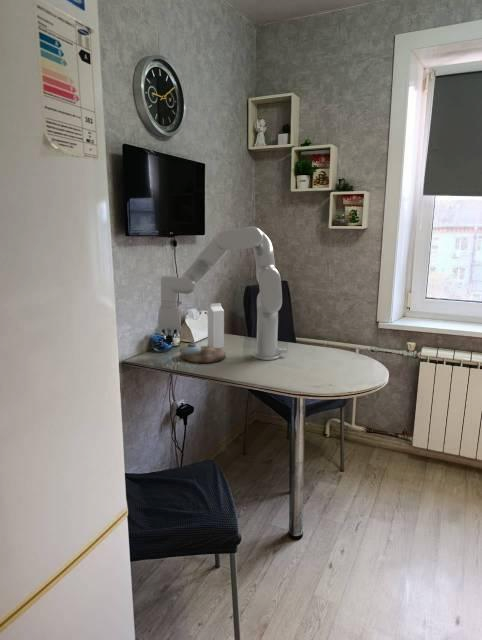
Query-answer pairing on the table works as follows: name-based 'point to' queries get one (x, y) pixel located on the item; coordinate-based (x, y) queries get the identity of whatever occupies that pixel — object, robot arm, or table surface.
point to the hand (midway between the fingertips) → (169, 343)
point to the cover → (191, 349)
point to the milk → (216, 326)
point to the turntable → (206, 355)
